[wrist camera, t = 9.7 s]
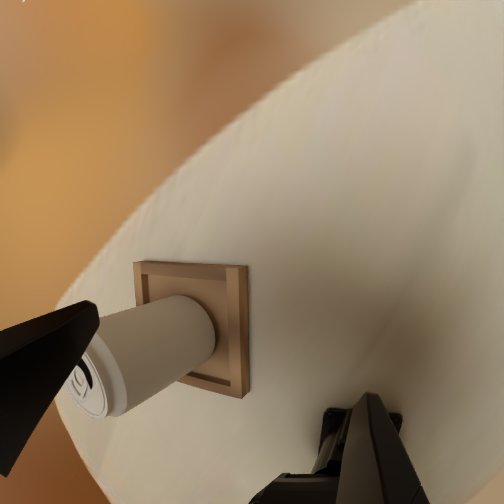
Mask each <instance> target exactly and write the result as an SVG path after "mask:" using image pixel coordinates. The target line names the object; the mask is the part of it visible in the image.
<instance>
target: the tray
mask: <svg viewBox="0 0 504 504" xmlns="http://www.w3.org/2000/svg"><path fill="white" fill-rule="evenodd" d="M133 269H134V285H135V297H136V307H138V306H141V305H144V304H147V303H151V302H154V301H157V300H161V299H164V298H167V297H170V296H174V295H181V296H186V297H189V298H191V299H193V300H194V301H196V302H197V303H198V304H199V305H200V306H201V307H202V308H203V309H204V310H205V311H206V313H207V314H208V316H209V318H210V320H211V322H212V324H213V327H214V332H215V347H214V350H213V353H212V354H211V356H210V357H209V359H208V360H207V361H205V362H204V363H203V364H201V365H200V366H198V367H197V368H195V369H194V370H192V371H191V372H189V373H188V374H186V375H184V376H183V377H181V378H180V379H178V380H177V381H178V382H181V383H184V384H188V385H191V386H194V387H198V388H201V389H205V390H208V391H212V392H216V393H219V394H223V395H227V396H231V397H235V398H240V399H242V398H243V397H244V396H245V395H246V394H247V393H248V392H249V343H248V289H247V266H239V265H217V264H196V263H176V262H157V261H139V262H133Z"/></svg>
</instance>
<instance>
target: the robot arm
mask: <svg viewBox="0 0 504 504" xmlns="http://www.w3.org/2000/svg"><path fill="white" fill-rule="evenodd" d="M99 325H100V319H99V314H98V310H97V306H96V304H94V303H92V302H90V301H88V300H84V301H81V302H78V303H76V304H73V305H70V306H67V307H64V308H62V309H59V310H56V311H53V312H51V313H48V314H45V315H43V316H40V317H37V318H34V319H31V320H29V321H26V322H23V323H20V324H18V325H15V326H12V327H9V328H7V329H4V330H2V331H0V474H1V475H3V476H4V477H7V476H8V475H9V473H10V471H11V469H12V467H13V465H14V463H15V462H16V460H17V458H18V456H19V455H20V453H21V451H22V450H23V448H24V446H25V444H26V443H27V440H28V439H29V437H30V436H31V434H32V433H33V431H34V429H35V428H36V426H37V424H38V422H39V421H40V419H41V418H42V416H43V415H44V413H45V412H46V410H47V409H48V407H49V405H50V404H51V402H52V401H53V399H54V398H55V396H56V395H57V393H58V392H59V390H60V389H61V387H62V386H63V384H64V383H65V381H66V380H67V378H68V377H69V375H70V374H71V373H72V371H73V370H74V368H75V367H76V365H77V364H78V362H79V361H80V359H81V358H82V356H83V354H84V352H85V351H86V349H87V347H88V345H89V344H90V342H91V340H92V338H93V337H94V335H95V333H96V331H97V330H98V328H99ZM328 413H331V414H332V415H331V416H330V415H328ZM395 419H399V420H398V421H395ZM402 420H403V418H402V415H401V414H398V413H388V412H387V410H386V408H385V406H384V404H383V402H382V400H381V398H380V397H379V395H378V394H376V393H370V392H366V393H364V394H363V396H362V397H361V398H360V400H359V401H358V402H357V404H356V405H355V406H354V408H353V410H342V409H333V408H329V409H327V410H325V413H324V416H323V424H322V432H321V439H320V446H319V452H318V458H317V460H316V463H315V465H314V467H313V470H312V472H311V474H290V473H282V474H280V475H279V476H278V477H277V478H276V479H275V480H273V481H272V482H271V483H270V484H269V485H267V486H266V487H265V488H264V489H262V490H261V491H260V492H259V493H257V494H256V495H255V496H254V497H253V498H252V499H251V501H250V502H249V504H430V503H429V501H428V498H427V496H426V494H425V492H424V489H423V487H422V486H421V483H420V481H419V478H418V476H417V474H416V472H415V469H414V467H413V465H412V463H411V461H410V459H409V456H408V454H407V452H406V450H405V448H404V446H403V444H402V441H401V439H400V437H399V432H400V428H401V425H402Z"/></svg>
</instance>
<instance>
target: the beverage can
mask: <svg viewBox="0 0 504 504" xmlns="http://www.w3.org/2000/svg"><path fill="white" fill-rule="evenodd" d="M99 319H100V325H99V328H98V330H97V331H96V333H95V335H94V337H93V338H92V340H91V342H90V344H89V345H88V347H87V349H86V351H85V352H84V354H83V356H82V358H81V359H80V361H79V362H78V364H77V365H76V367H75V368H74V370H73V371H72V373H71V374H70V375H69V377H68V378H67V380H66V381H65V383H64V385H65V387H66V389H67V390H68V392H69V394H70V395H71V397H72V398H73V400H74V401H75V402H76V404H77V405H78V406H79V407H80V408H81V409H82V410H83V411H84V412H85V413H86V414H88V415H89V416H91V417H92V418H95V419H103V418H105V417H106V416H113V417H117V416H120V415H122V414H124V413H126V412H127V411H129V410H131V409H132V408H134V407H135V406H137V405H139V404H140V403H142V402H144V401H145V400H147V399H148V398H150V397H152V396H153V395H155V394H156V393H158V392H160V391H161V390H163V389H164V388H166V387H168V386H169V385H171V384H172V383H174V382H175V381H177V380H178V379H180V378H181V377H183V376H184V375H186V374H188V373H189V372H191V371H192V370H194V369H195V368H197V367H198V366H200V365H201V364H203V363H204V362H205V361H207V360H208V359H209V357H210V356H211V354H212V353H213V350H214V347H215V332H214V327H213V324H212V322H211V320H210V318H209V316H208V314H207V313H206V311H205V310H204V309H203V308H202V307H201V306H200V305H199V304H198V303H197V302H196V301H194V300H193V299H191V298H189V297H186V296H181V295H174V296H170V297H167V298H164V299H161V300H157V301H154V302H151V303H147V304H144V305H141V306H138V307H134V308H131V309H128V310H124V311H121V312H118V313H114V314H111V315H108V316H104V317H101V318H99Z"/></svg>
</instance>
